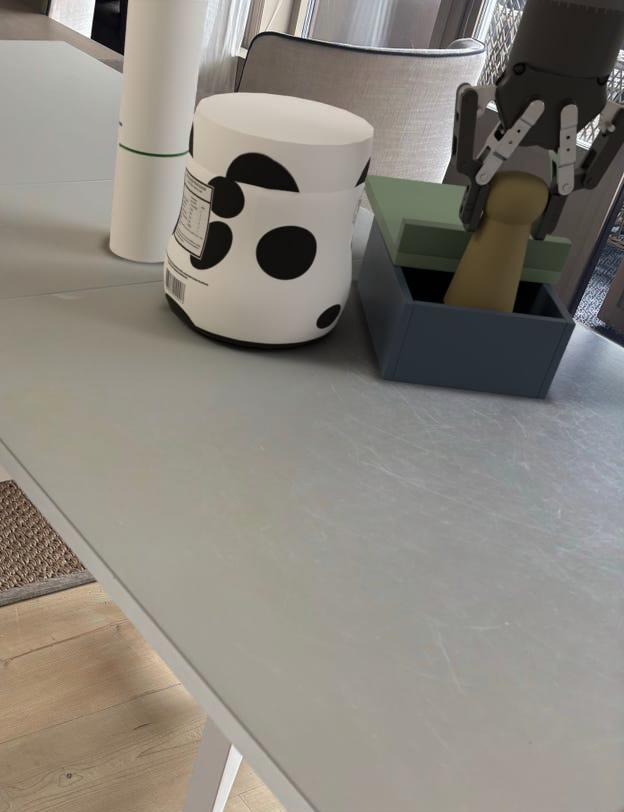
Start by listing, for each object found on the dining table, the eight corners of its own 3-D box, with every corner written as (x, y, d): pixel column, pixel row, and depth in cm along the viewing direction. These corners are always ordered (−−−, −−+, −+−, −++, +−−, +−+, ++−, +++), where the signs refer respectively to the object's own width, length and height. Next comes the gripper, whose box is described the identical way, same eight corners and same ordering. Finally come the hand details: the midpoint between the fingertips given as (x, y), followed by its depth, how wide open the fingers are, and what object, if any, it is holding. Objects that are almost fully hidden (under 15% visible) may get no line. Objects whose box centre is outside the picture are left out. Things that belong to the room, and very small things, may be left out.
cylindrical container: (168, 243, 107) (200, -30, 90) (181, 269, 102) (218, -16, 85) (104, 240, 105) (125, -38, 89) (114, 266, 100) (137, -23, 83)
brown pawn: (429, 301, 85) (469, 168, 78) (467, 287, 89) (509, 158, 81) (488, 327, 82) (536, 191, 75) (525, 311, 86) (574, 180, 78)
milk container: (361, 319, 97) (413, 121, 85) (298, 384, 85) (348, 164, 73) (205, 271, 102) (234, 78, 90) (125, 326, 90) (145, 112, 78)
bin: (491, 305, 103) (517, 232, 98) (542, 405, 87) (576, 324, 82) (355, 289, 102) (374, 214, 97) (381, 385, 86) (405, 302, 81)
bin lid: (500, 202, 105) (512, 166, 102) (556, 285, 88) (573, 243, 85) (362, 185, 104) (371, 148, 102) (393, 265, 87) (405, 223, 85)
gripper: (496, -11, 67) (424, 239, 78) (701, 15, 67) (599, 260, 79) (475, -28, 72) (411, 207, 84) (663, -4, 73) (574, 228, 84)
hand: (502, 232), depth 81 cm, fingers closed on brown pawn, 5 cm apart
